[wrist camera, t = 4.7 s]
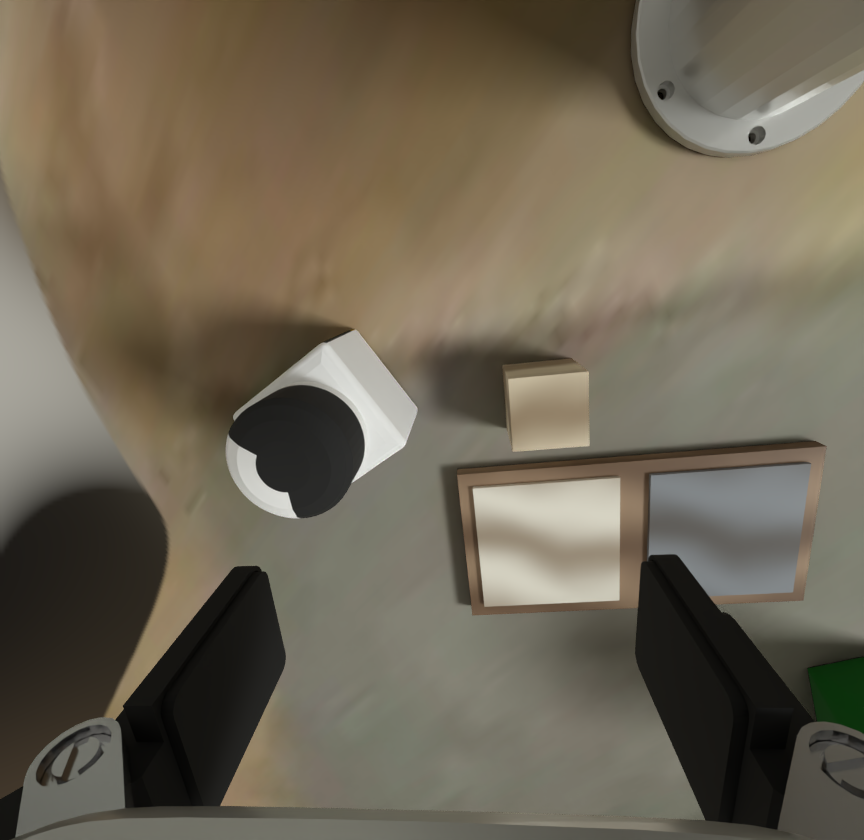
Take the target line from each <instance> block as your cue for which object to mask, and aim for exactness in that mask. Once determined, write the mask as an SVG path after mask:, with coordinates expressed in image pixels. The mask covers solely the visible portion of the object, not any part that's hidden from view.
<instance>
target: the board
mask: <svg viewBox="0 0 864 840" xmlns="http://www.w3.org/2000/svg"><path fill="white" fill-rule="evenodd" d="M826 447H827V446H825V445H823V444H820V443H818V442H816V441H809V442H796V443H784V444H771V445H758V446H745V447H733V448H720V449H707V450H695V451H682V452H669V453H657V454H644V455H631V456H619V457H606V458H593V459H581V460H568V461H555V462H543V463H530V464H517V465H505V466H492V467H479V468H467V469H457V479H458V488H459V497H460V506H461V515H462V524H463V533H464V542H465V552H466V561H467V570H468V579H469V588H470V597H471V606H472V615H490V614H512V613H535V612H557V611H579V610H602V609H624V608H638V600H639V585H640V569H641V563H642V562H643V561H648V558H649V556H650V555H664V554H675V555H678V556H679V557H680V559H681V560H682V561H683V563H684V564H685V565H686V567H687V568H688V569H689V571H690V572H691V573H692V575H693V576H694V577H695V579H696V580H697V581H698V582H699V584H700V585H701V586H702V588H703V589H704V590H705V592H706V593H707V594H708V596H709V597H710V598H711V600H712V601H713V602H714V604H735V603H758V602H780V601H802V600H803V599H804V592H805V586H806V579H807V572H808V566H809V559H810V553H811V546H812V539H813V533H814V526H815V520H816V513H817V506H818V500H819V493H820V486H821V480H822V473H823V467H824V460H825V453H826Z"/></svg>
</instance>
